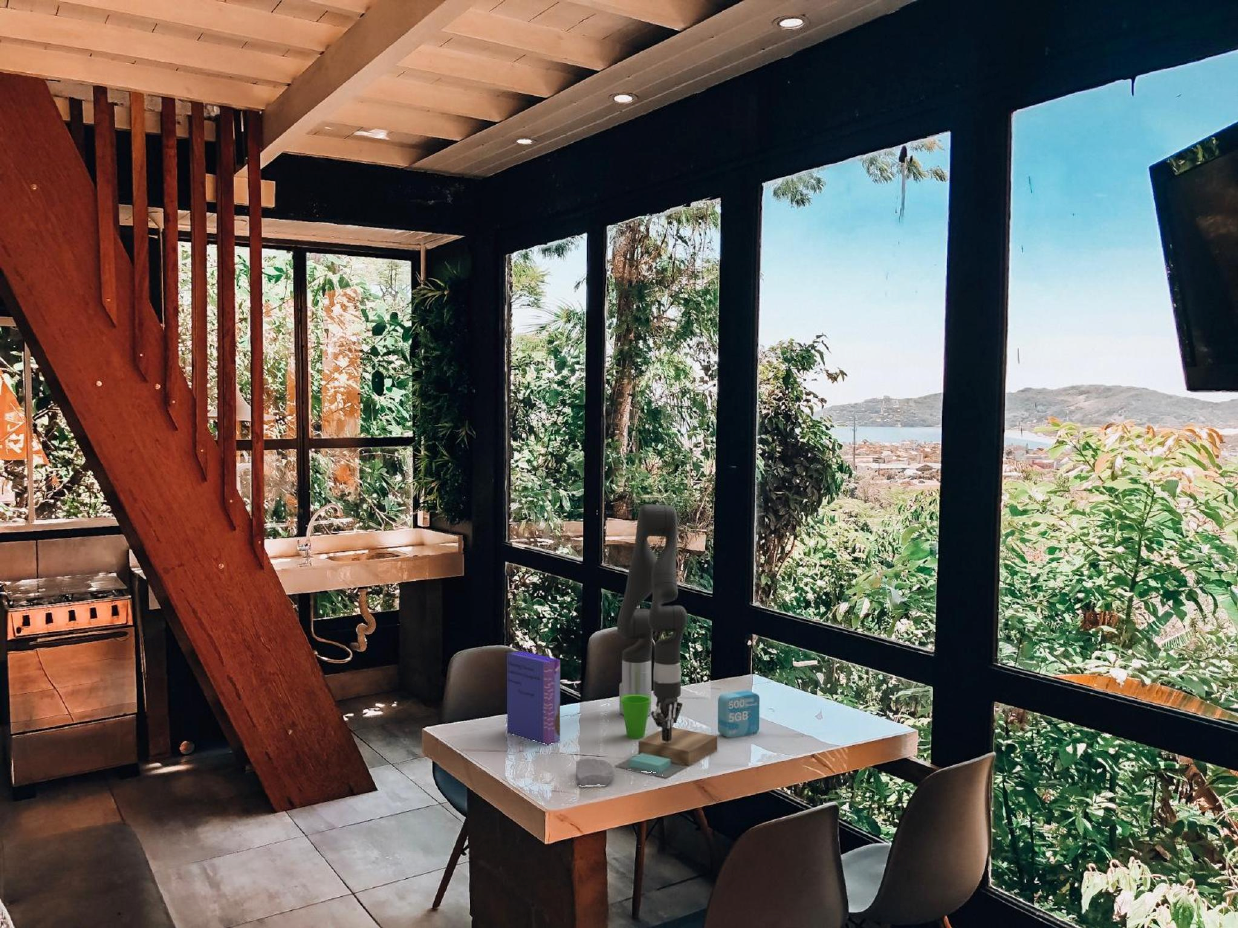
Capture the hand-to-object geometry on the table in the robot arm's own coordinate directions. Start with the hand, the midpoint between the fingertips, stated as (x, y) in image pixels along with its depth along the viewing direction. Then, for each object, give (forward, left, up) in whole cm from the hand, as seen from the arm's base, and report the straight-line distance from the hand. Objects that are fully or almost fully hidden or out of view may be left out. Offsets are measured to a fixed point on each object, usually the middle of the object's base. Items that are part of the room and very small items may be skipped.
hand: (666, 740), depth 271 cm
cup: (-17, +11, -5) cm, 21 cm away
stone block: (-6, -25, -5) cm, 26 cm away
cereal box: (-41, -7, -5) cm, 42 cm away
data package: (+7, +30, -5) cm, 31 cm away
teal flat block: (+1, -10, -2) cm, 10 cm away
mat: (+1, -9, -5) cm, 10 cm away
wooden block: (+1, +5, -5) cm, 7 cm away
